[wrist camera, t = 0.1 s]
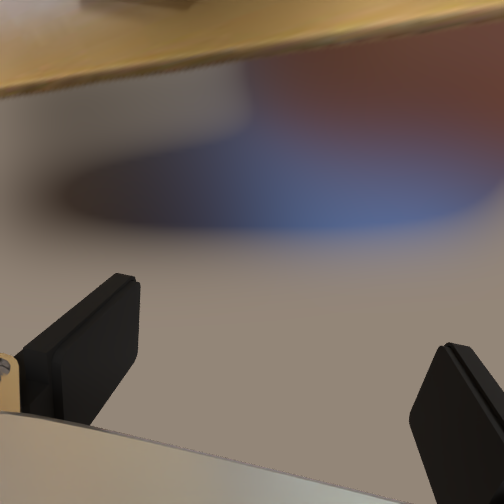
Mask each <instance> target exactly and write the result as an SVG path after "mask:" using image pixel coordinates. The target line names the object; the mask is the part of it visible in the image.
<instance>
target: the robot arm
mask: <svg viewBox="0 0 504 504" xmlns="http://www.w3.org/2000/svg"><path fill="white" fill-rule="evenodd" d="M139 310H140V283H139V282H136V279H135V277H133V276H129V275H124V274H119V273H115V274H114V275H113V276H111V277H110V278H109V279H108V280H106V281H105V282H104V283H103V284H102V285H100V286H99V287H98V288H96V289H95V290H94V291H93V292H92V293H90V294H89V295H88V296H87V297H85V298H84V299H83V300H82V301H81V302H79V303H78V304H77V305H75V306H74V307H73V308H72V309H70V310H69V311H68V312H67V313H65V314H64V315H63V316H62V317H61V318H60V319H58V320H57V321H56V322H54V323H53V324H52V325H51V326H50V327H48V328H47V329H46V330H45V331H43V332H42V333H41V334H39V335H38V336H37V337H36V338H35V339H33V340H32V341H31V342H30V343H28V344H27V345H26V346H25V347H23V350H22V351H20V352H19V353H18V354H17V355H15V356H14V357H12V356H10V355H7V354H4V353H0V504H412V503H408V502H404V501H400V500H396V499H392V498H388V497H384V496H380V495H376V494H372V493H368V492H364V491H360V490H356V489H352V488H348V487H344V486H340V485H336V484H332V483H327V482H324V481H320V480H315V479H311V478H307V477H303V476H299V475H295V474H291V473H287V472H283V471H279V470H274V469H270V468H266V467H262V466H258V465H254V464H250V463H246V462H242V461H237V460H233V459H229V458H225V457H221V456H217V455H213V454H208V453H204V452H200V451H195V450H192V449H187V448H182V447H179V446H174V445H170V444H166V443H162V442H158V441H154V440H149V439H145V438H141V437H137V436H133V435H128V434H124V433H120V432H115V431H111V430H106V429H102V428H98V427H94V426H90V424H91V423H92V421H93V420H94V419H95V417H96V416H97V414H98V413H99V412H100V410H101V409H102V407H103V406H104V404H105V403H106V401H107V400H108V399H109V397H110V396H111V394H112V393H113V391H114V390H115V389H116V387H117V386H118V384H119V383H120V381H121V380H122V379H123V377H124V376H125V375H126V373H127V372H128V370H129V369H130V367H131V366H132V364H133V363H134V361H135V359H136V357H137V353H138V334H139ZM409 424H410V427H411V430H412V433H413V436H414V439H415V441H416V444H417V447H418V450H419V453H420V456H421V459H422V462H423V465H424V467H425V470H426V473H427V476H428V479H429V482H430V485H431V487H432V491H433V493H434V496H435V499H436V502H437V504H504V392H503V390H502V389H501V388H500V387H499V385H498V384H497V382H496V381H495V380H494V378H493V377H492V375H491V374H490V373H489V371H488V370H487V369H486V367H485V366H484V365H483V363H482V362H481V361H480V359H479V358H478V356H477V355H476V354H475V352H474V351H473V350H472V349H471V348H470V347H468V346H464V345H459V344H454V343H450V342H449V343H446V344H445V345H444V346H440V347H439V348H438V349H437V352H436V354H435V356H434V358H433V361H432V363H431V365H430V368H429V370H428V372H427V374H426V377H425V379H424V382H423V384H422V386H421V388H420V391H419V393H418V395H417V398H416V400H415V402H414V405H413V407H412V409H411V412H410V416H409Z"/></svg>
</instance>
